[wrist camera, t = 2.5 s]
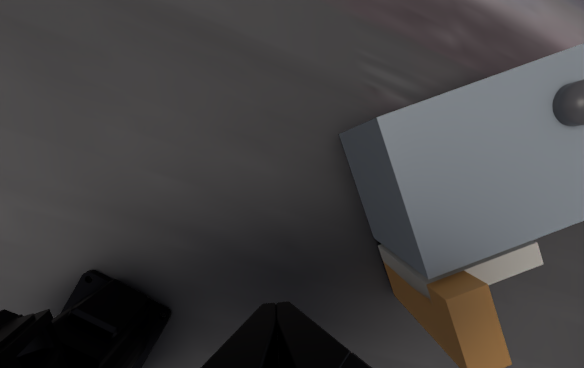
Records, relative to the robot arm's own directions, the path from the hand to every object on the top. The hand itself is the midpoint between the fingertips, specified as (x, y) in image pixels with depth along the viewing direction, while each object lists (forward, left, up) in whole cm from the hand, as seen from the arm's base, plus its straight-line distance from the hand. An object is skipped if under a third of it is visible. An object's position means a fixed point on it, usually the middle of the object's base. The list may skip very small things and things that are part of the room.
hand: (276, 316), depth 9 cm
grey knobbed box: (+11, -8, -12) cm, 18 cm away
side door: (+4, -11, -12) cm, 16 cm away
